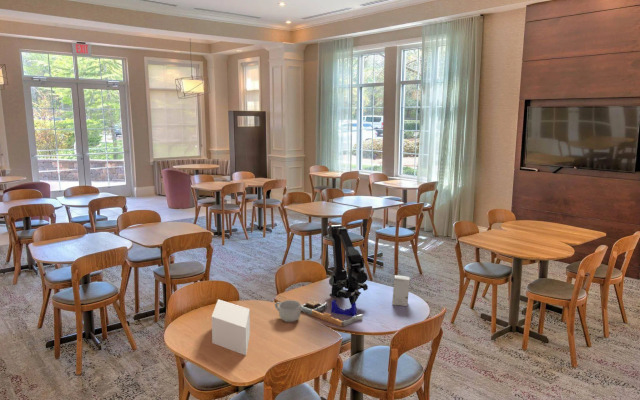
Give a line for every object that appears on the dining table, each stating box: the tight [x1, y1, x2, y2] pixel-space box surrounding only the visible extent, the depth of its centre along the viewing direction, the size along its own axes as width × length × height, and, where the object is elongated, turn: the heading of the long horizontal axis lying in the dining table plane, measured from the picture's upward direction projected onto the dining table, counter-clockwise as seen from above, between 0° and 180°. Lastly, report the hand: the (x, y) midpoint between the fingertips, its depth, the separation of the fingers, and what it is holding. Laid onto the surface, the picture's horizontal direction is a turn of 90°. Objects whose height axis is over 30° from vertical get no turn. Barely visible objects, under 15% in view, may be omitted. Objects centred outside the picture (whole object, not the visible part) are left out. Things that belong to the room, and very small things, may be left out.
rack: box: [301, 300, 363, 328], centre depth 239 cm, size 14×30×4 cm, turn 48°
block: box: [211, 299, 251, 356], centre depth 212 cm, size 18×35×12 cm, turn 30°
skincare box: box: [392, 274, 411, 307], centre depth 254 cm, size 8×6×15 cm
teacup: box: [274, 299, 302, 323], centre depth 234 cm, size 14×11×8 cm
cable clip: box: [330, 299, 358, 317], centre depth 242 cm, size 12×4×6 cm, turn 69°
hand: (352, 305), depth 249 cm, fingers closed
